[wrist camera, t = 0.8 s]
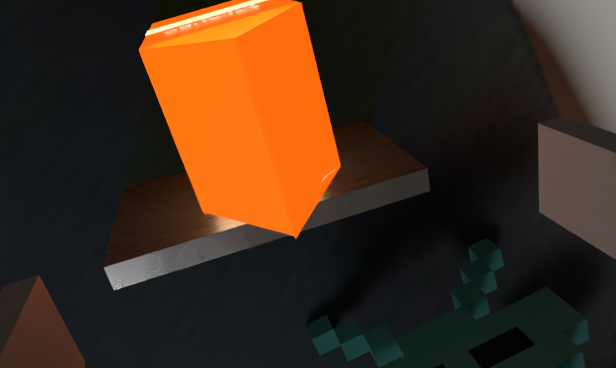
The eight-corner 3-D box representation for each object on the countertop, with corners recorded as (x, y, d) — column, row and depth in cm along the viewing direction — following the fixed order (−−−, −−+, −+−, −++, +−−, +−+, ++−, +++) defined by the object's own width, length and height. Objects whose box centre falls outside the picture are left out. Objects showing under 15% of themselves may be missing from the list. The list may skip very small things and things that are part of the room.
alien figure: (313, 340, 49) (394, 547, 31) (306, 324, 48) (384, 528, 30) (491, 254, 51) (665, 405, 33) (487, 237, 50) (664, 382, 32)
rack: (-10, -137, 30) (-116, -206, 19) (308, -197, 32) (374, -286, 22) (130, 205, 39) (114, 289, 29) (364, 137, 42) (430, 190, 31)
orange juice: (193, 137, 39) (209, 272, 21) (150, 23, 35) (124, 66, 17) (287, 106, 40) (381, 210, 22) (255, -8, 36) (337, 3, 18)
